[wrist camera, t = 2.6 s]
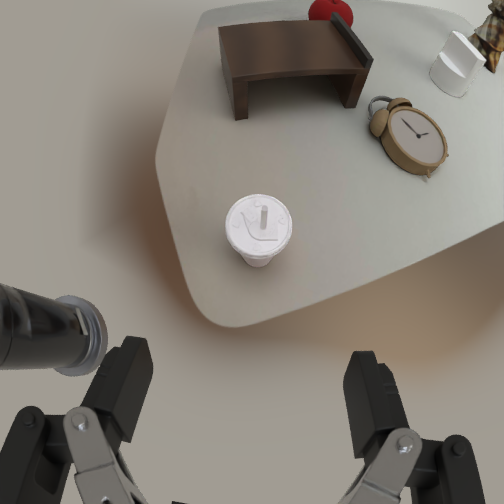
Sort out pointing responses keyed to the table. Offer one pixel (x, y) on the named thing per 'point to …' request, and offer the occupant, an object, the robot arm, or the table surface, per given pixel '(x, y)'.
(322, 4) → the apple
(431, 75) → the cylinder with rectangular tab
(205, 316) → the table surface
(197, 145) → the table surface
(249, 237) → the smoothie
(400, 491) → the robot arm
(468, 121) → the table surface
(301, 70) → the shelf
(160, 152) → the table surface
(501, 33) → the plaid figurine
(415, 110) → the alarm clock
